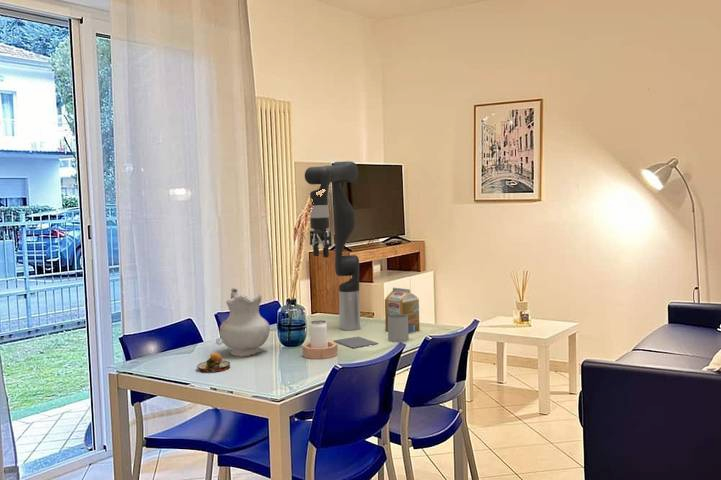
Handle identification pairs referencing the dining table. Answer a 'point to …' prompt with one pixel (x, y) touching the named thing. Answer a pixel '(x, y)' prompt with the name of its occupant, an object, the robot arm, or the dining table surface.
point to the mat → (355, 342)
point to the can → (318, 334)
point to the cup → (398, 328)
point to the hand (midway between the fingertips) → (321, 256)
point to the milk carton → (403, 307)
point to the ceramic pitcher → (244, 325)
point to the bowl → (320, 351)
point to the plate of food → (214, 364)
